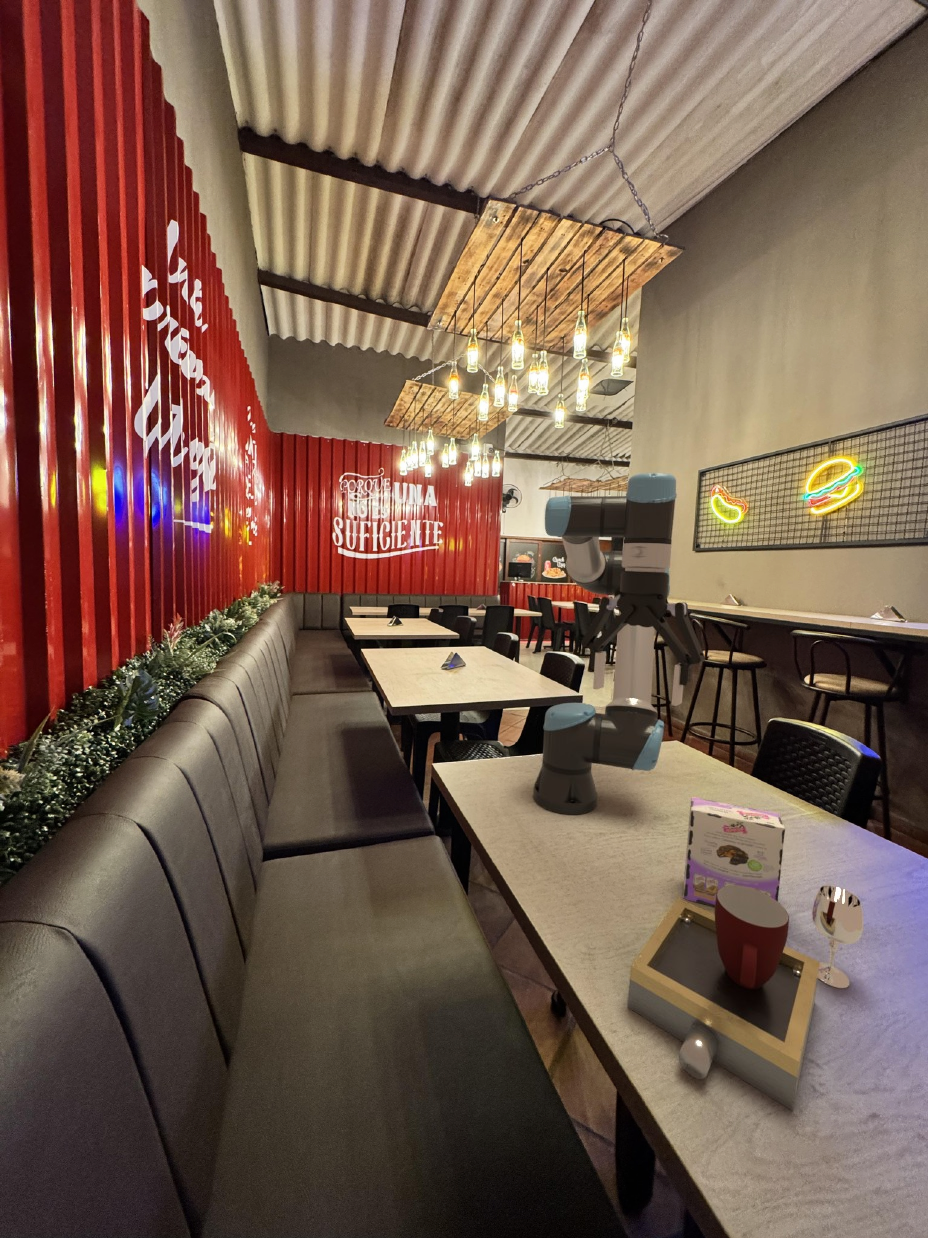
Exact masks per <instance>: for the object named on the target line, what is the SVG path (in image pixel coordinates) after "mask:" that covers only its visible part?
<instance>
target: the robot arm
mask: <svg viewBox="0 0 928 1238" xmlns="http://www.w3.org/2000/svg"><path fill="white" fill-rule="evenodd" d="M626 490H627V491H626V493H625V495H617V496H615V495H614V496H610V495H609V496H603V495H601V496H595V495H593V496H590V495H589V496H582V495H581V496H580V495H579V496H577V495H576V496H574V495H564V496H553V497H550V498H548V500H547V501H546V505H545V511H544V529H545V533H546V534H547V536H551V537H557V538H561V540H562V543H563V547H564V550H565V554H566V560H565V567H566V569H565V570H566V572H567V574H568V576H569V578H570V579H571V580H572V581H573V583H575V584H576V585H577V586H579V587H581V588H582V589H583V590H585V591H588V592H590V593H593V594H595V595H601V596H603V597H602V598H601V600H600V604H599V605H600V606H599V609H598V611H597V613H596V615H595V616H594V618H593V621H592V622H591V624H590V626H589V628H587V631H586V632H585V635H584V636H583V638H582V640H581V643H580V645H581V646H582V647H583V648H587V649H589V651H590V664H589V667H590V669H591V670H594V671H593V683H592V684H593V685H592V688H593V690H600V689H603V688H604V687H605V678H606V677H605V676H606V675H605V674H606V662H607V661H606V659H607V651H605V650H604V648H605V646H607V644H608V643H610V642H611V641H612V640H613V638H615V637H616V636H617V638H616V639H617V640H616V649H615V650H616V653H615V664H614V665H615V666H614V676H613V677H614V678H613V679H614V680H613V693H612V700H611V701H610V702H609V703H607V705H605V707H604V708H605V710H604V713H600V712H597V710H596V708H595V706H594V705H593V704H587V703H584V702H565V703H564V702H563V703H560V704H556V705H553V706H551V707H549V708H548V709H547V710H546V712H545V714H544V715H545V716H544V724H543V727H542V728H543V741H542V742H543V745H542V760H541V761H542V763H541V768H540V771H539V772H538V775H537V778H536V780H535V782H534V785H533V796H532V797H533V800H534V801H535V802H536V804H538V805H539V806H540V807H542V808H543V809H546V810H547V811H551V812H555V813H558V814H563V815H584V814H587V813H590V812H592V811H594V809H596V807H597V804H598V803H597V802H598V793H597V790H596V786H595V781H594V777H593V774H592V766H593V765H592V764H596V765H603V766H608V767H616V768H621V769H622V768H623V769H628V770H629V769H630V770H631V771H635V770H636V771H646V772H650V771H652V770H654V769H655V767H656V766H657V765H658V764H657V763H658V760H659V756H660V752H661V747H662V743H663V742H662V741H663V737H664V728H665V723H664V721H663V720H661V719H658V711H657V709H655V708H654V706H653V705H652V691H653V690H652V689H653V688H652V687H653V671H654V670H653V668H654V651H655V650H654V647H655V631H656V632H657V633H658V634H659V636H660V637H661V638H662V640H663V641H664V642H665V644H666V645H667V646H668V648H669V650H670V651H671V652H672V654H673V655H674V657H675V658H676V659H677V661H678V662H679V663H677V664H675V665H674V671H673V679H672V680H673V681H672V693H671V706H675V707H677V706H679V705H681V704H683V695H684V694H683V693H684V687H686V686H687V685H690V683H691V674H692V666H693V665H697V664H700V663H703V662H704V661H705V660H706V656H705V654H704V652H703V649H702V646H701V644H700V641H699V640H698V637H697V634H696V632H695V630H694V627H693V625H692V622H691V620H690V617H689V609H688V606H689V605H688V604H687V602H686V601H682V602H681V601H680V602H676V603H673V602H672V603H669V600H668V598H669V596H670V591H671V589H670V588H671V587H670V586H671V585H670V580H671V578H670V567H671V558H672V557H671V556H672V544H673V543H672V538H673V537H672V536H673V527H674V519H675V518H674V517H675V506H676V499H677V495H678V494H677V479H676V476H674V475H673V474H670V473H665V472H644V473H638V474H635V475H632V476H631V477H630V478H629V479H628V481H627V487H626ZM600 538H623V545H622V550H601V546H600ZM616 607H617V609H618V616H617V617H616V618H615V619H614V620H613V623H611V624H610V626H608V628H607V629H606V630H605V631H603V633H602V634H601V635H600V636H599V634H600V632H601V631H602V629H603V627H604V625H605V624H606V622H607V620H608V619H609V617H610V615H611V613H612V611H613V610H615V609H616ZM668 612H670V613H671V615H672V616H673V617H675V621H676V624H677V626H678V629H679V631H680V634H681V635H682V636H681V637H682V638H683V641H684V643H685V645H686V648H687V649H686V648H685V646H684V645H683V644H682V642H681V641H680V639H679V638H678V637H677V636H676V634H675V633H674V631H673V630H672V629H671V627H670V624H669V622H668V621H667V620H666V619H665V617H664V616H665V615H666V614H667V613H668ZM598 636H599V637H598ZM597 637H598V638H597ZM603 650H604V651H603Z"/></svg>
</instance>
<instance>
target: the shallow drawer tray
mask: <svg viewBox="0 0 928 1238" xmlns="http://www.w3.org/2000/svg"><path fill="white" fill-rule="evenodd" d="M820 962H821V961H819V960H817V959H814V958H812V957H810V956H807V955H806V954H803V953H801V952H798V951H797V950H794V949H793V948H789V947H787V946H785V947H784V950H783V952H782V955H781V958H780V961H779V963H778V966H777V969H776V971H775V973H774V975H773V976H772V977H771V978H770V979H769V980H768V981H767V982H766V983H765V984H764V985H763V986H762V987H760V988H759V989H747V988H744V987H742V986H740V985H738V984H737V983H735V982H734V981H733V980H732V979H731V978H730V977H729V975H728V974H727V971H726V969H725V967H724V965H723V963H722V960H721V958H720V955H719V951H718V945H717V935H716V925H715V913H713V912H710V911H708V910H705V909H703V908H701V907H699V906H697V905H694V904H692V903H690V902H688V901H686V900H683V899H681V898H679V897H678V898H676V901H675V902H674V903H673V905H672V906H671V907H670V909H669V911H668V912H667V913H666V914H665V916H664V917H663V919H662V920H661V922H660V923H659V924H658V926H657V928H656V929H655V930H654V932H653V934H652V935H651V936H650V938H649V939H648V940H647V942H646V943H645V944H644V946H643V948H642V949H641V951H640V952H639V953H638V955H637V956H636V958H635V960H634V961H633V962H632V963H631V965H630V974H629V983H628V984H629V985H628V998H627V1008H628V1009H629V1010H632V1011H633V1012H635V1013H636V1014H638V1015H640V1016H641V1017H643V1018H644V1019H645V1020H647V1021H649V1022H651V1023H652V1024H654V1025H655V1026H656V1027H658V1028H660V1029H661V1030H663V1031H664V1032H666V1033H667V1034H670V1035H671V1036H672V1037H674V1038H676V1040H679V1041H681V1042H682V1045H681V1047H680V1049H679V1052H678V1061H679V1063H680V1065H681V1068H683V1069H684V1071H685V1072H686V1073H687V1074H688V1075H690V1076H691V1077H692V1078H694V1079H697V1080H703V1079H705V1078H706V1077H707V1075H708V1073H709V1070H710V1068H711V1065H712V1063H713V1062H714V1063H715V1064H717V1065H719V1066H720V1067H722V1068H723V1069H725V1070H726V1071H728V1072H730V1073H731V1074H733V1075H734V1076H736V1077H737V1078H739V1079H741V1080H742V1081H744V1082H745V1083H747V1084H749V1085H751V1086H752V1087H753V1088H755V1089H757V1090H758V1091H760V1092H761V1093H762V1094H764V1095H766V1096H768V1097H769V1098H770V1099H772V1100H774V1101H775V1102H777V1103H779V1104H780V1105H782V1106H783V1107H785V1108H787V1109H788V1110H790V1111H791V1112H793V1111H794V1108H795V1103H796V1099H797V1092H798V1087H799V1082H800V1077H801V1071H802V1067H803V1063H804V1058H805V1053H806V1048H807V1043H808V1038H809V1033H810V1028H811V1023H812V1017H813V1014H814V1009H815V1004H816V995H817V987H818V981H819V979H818V973H819V965H820Z"/></svg>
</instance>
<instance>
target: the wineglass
mask: <svg viewBox="0 0 928 1238" xmlns="http://www.w3.org/2000/svg"><path fill="white" fill-rule="evenodd" d="M811 919H812V923H813V925H814V926H815V928H816V930H817V931H818V932H819V933H820V934H821V935H822V936H824V938H826V939H827V940H829V942H828V947H829V953H830V955H829V959H828V960H829V962H828V963H826V962H824V961H823V962H821V961H819V962H820V965H819V973H818V980H820V981H822V982H823V983H824V984H826V985H828V986H831V987H834V988H837V989H846V988H848V987H849V986H850V980H849V977H848V976H847V975H846V973H844V972H843V971H842V970H841V969H840V968H837V967H836V966H834V962H835V961H834V960H835V955H836V952H837V951H838V949H839V944H841V945H853V944H855V943H857V942H858V941H859V940H860V939H861V937H862V935H863V932H864V912H863V906H862V902H861V899H859V897H857V895H855V894H853V893H851V892H850V891H849V890H846V889H845V888H843V887H838V886H835V885H829V884H828V885H822V886H820V887H819V889H818V890H817V893H816V894H815V897H814V899H813V903H812V907H811Z"/></svg>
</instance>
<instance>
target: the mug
mask: <svg viewBox="0 0 928 1238" xmlns="http://www.w3.org/2000/svg"><path fill="white" fill-rule="evenodd" d="M714 914H715V925H716V935H717V945H718V951H719V955H720V958H721V960H722V963H723V965H724V967H725V969H726V971H727V974H728V975H729V977H730V978H731V979H732V980H733V981H734V982H735V983H737V984H738V985H740V986H742V987H744V988H747V989H759V988H760V987H762V986H763V985H764V984H765V983H766V982H767V981H768V980H769V979H770V978H771V977H772V976H773V975H774V973H775V971H776V969H777V966H778V963H779V961H780V958H781V955H782V952H783V950H784V947H786V944H787V939H788V934H789V925H790V916H789V913H788V911H787V910H786V908H785V907H784V905H782V904H781V903H780V902H779V900H778V901H776V900H775V899H773V898H772V897H770V896H769V895H767V894H765V893H763V892H761V891H758V890H756V889H753V888H749V887H745V886H739V885H729V886H724V887H722V888H720V889H719V890H718V892H717V895H716V902H715V907H714Z"/></svg>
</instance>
